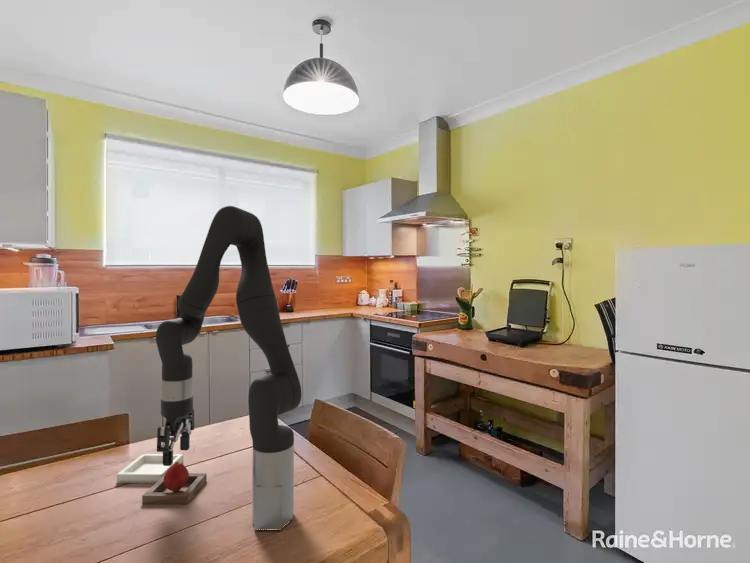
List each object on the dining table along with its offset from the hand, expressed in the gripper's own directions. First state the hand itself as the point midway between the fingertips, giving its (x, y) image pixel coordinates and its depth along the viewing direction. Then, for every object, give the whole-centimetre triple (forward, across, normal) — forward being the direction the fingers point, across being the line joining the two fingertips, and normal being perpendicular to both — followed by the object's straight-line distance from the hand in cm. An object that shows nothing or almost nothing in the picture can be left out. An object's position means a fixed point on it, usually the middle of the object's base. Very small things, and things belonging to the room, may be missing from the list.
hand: (176, 457), depth 101 cm
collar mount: (+9, -1, 0) cm, 9 cm away
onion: (+9, -1, 0) cm, 9 cm away
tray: (+9, +9, +12) cm, 18 cm away
